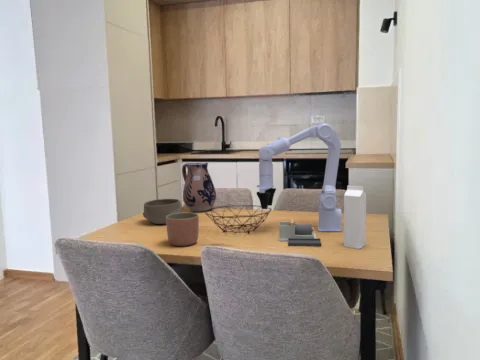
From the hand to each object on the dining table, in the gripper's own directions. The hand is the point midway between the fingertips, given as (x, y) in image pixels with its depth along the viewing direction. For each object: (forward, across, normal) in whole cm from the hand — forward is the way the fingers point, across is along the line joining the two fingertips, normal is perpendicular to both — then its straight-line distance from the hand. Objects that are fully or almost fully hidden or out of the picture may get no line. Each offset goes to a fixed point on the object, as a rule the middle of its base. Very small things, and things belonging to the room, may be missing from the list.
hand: (266, 207), depth 179 cm
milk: (+10, +15, +37) cm, 41 cm away
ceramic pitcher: (+10, -34, -48) cm, 59 cm away
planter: (+10, +26, -26) cm, 39 cm away
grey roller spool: (+6, +9, +16) cm, 19 cm away
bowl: (+10, -4, -52) cm, 53 cm away
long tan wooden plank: (+4, +10, +13) cm, 17 cm away
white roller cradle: (+10, +9, +15) cm, 20 cm away
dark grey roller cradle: (+10, +17, +19) cm, 27 cm away
